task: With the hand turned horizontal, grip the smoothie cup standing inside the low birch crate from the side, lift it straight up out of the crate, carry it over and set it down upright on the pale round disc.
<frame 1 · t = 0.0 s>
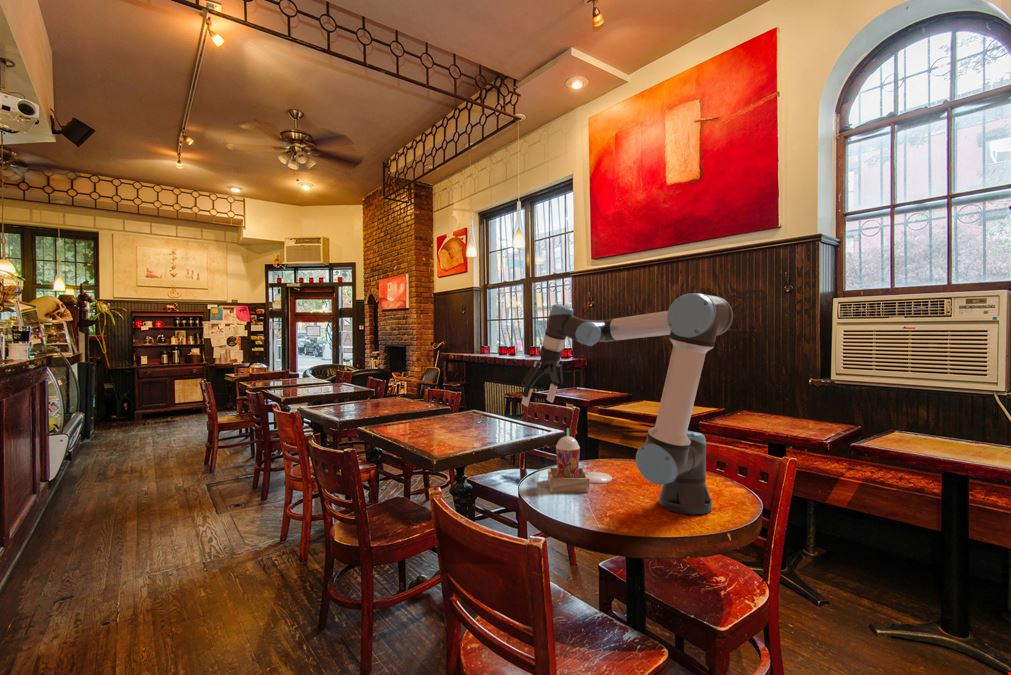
hand: (537, 403, 168), 28 cm above the table, tool tilted 20°, fingers open, 13 cm apart
crate: (567, 485, 161), on the table
smoothie: (567, 486, 161), resting in crate
pale round disc: (595, 478, 170), on the table
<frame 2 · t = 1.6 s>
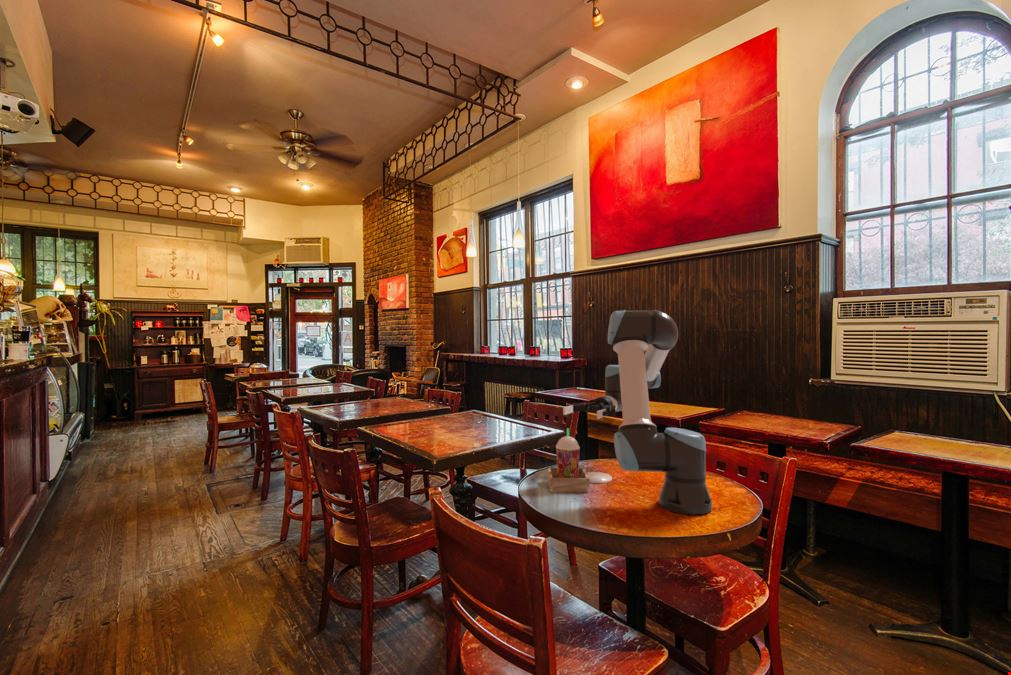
hand: (580, 413, 168), 24 cm above the table, tool horizontal, fingers open, 13 cm apart
nothing on the table moved.
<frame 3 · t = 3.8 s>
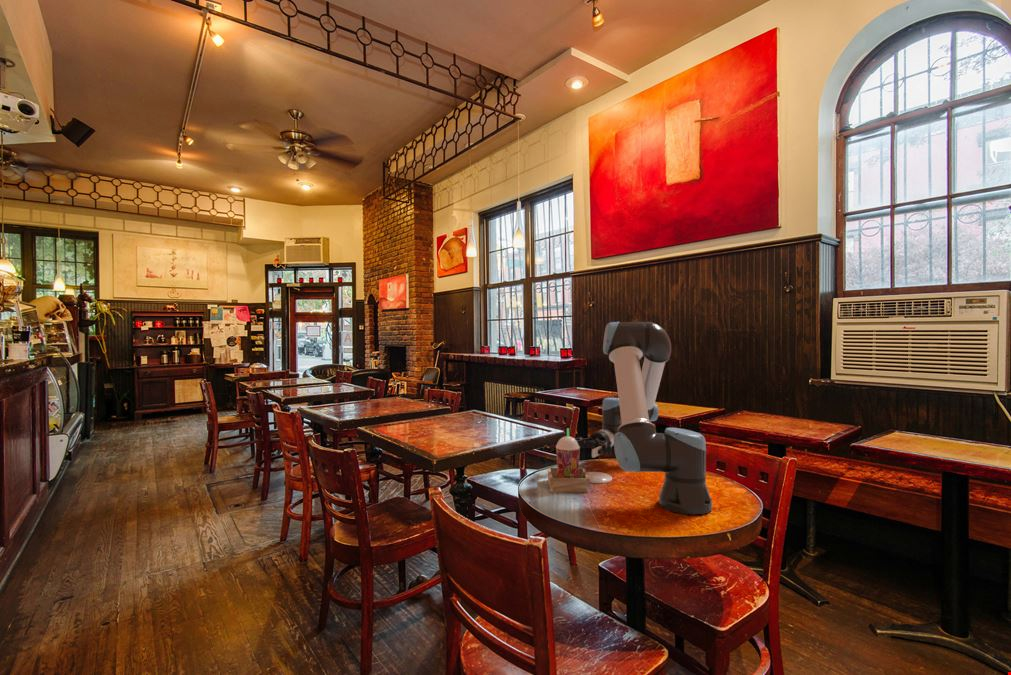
hand: (575, 450, 166), 11 cm above the table, tool horizontal, fingers open, 13 cm apart
nothing on the table moved.
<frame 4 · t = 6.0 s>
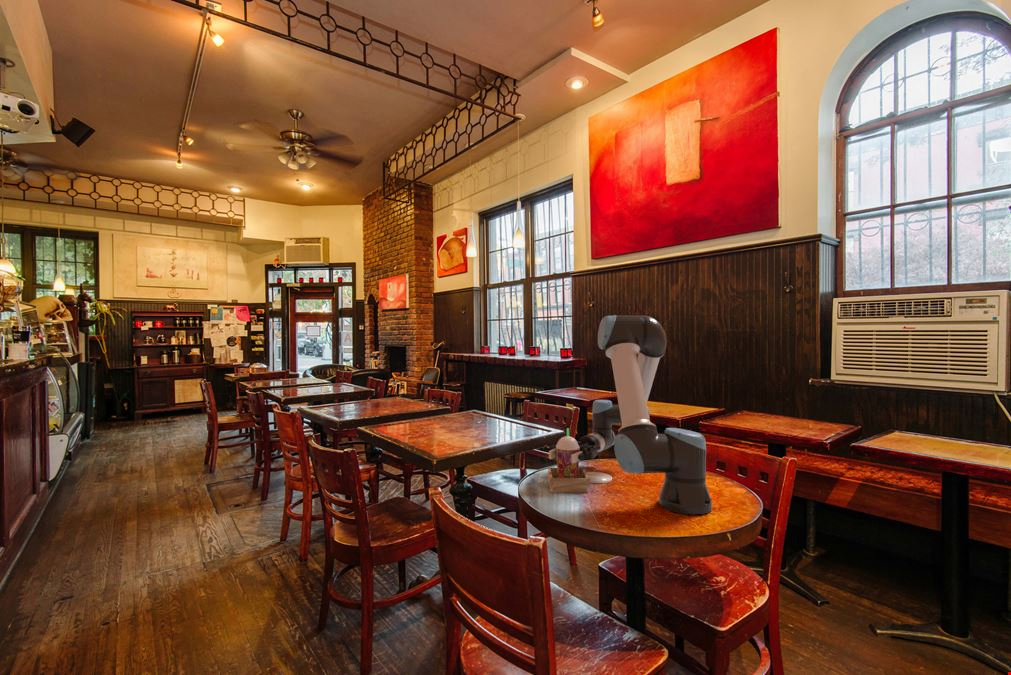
hand: (560, 457, 157), 11 cm above the table, tool horizontal, fingers closed on smoothie, 8 cm apart
smoothie: (567, 486, 161), resting in crate, touching gripper
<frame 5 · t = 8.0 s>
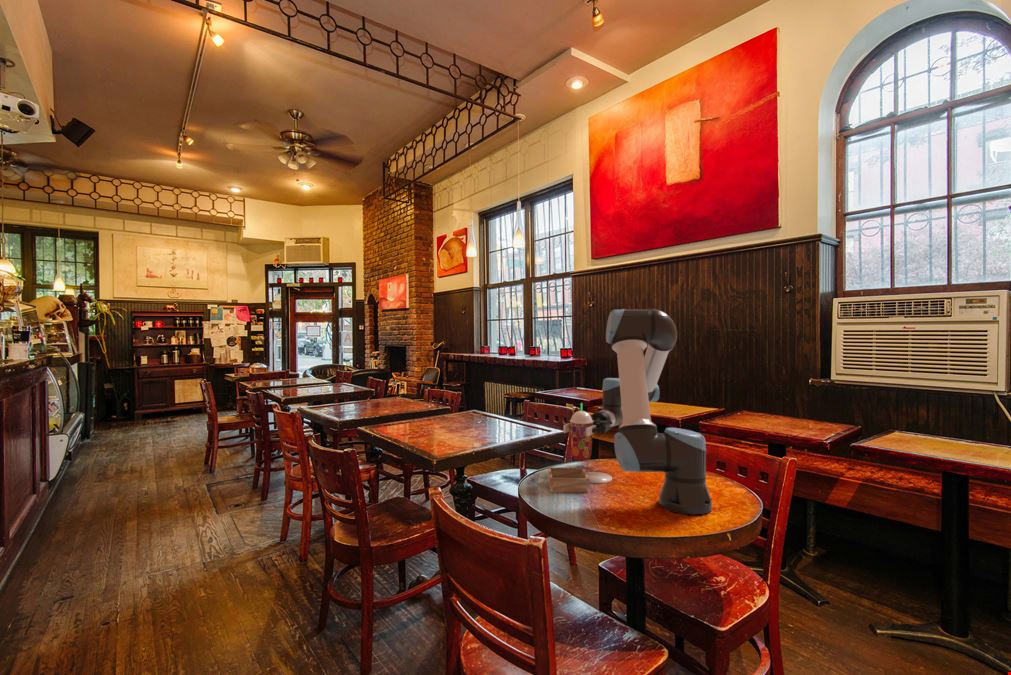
hand: (575, 430, 162), 19 cm above the table, tool horizontal, fingers closed on smoothie, 8 cm apart
smoothie: (581, 459, 165), point 8 cm above the table, touching gripper
when the fingers open (13 cm above the table, at t = 10.0 s): smoothie drops 1 cm, resting on pale round disc.
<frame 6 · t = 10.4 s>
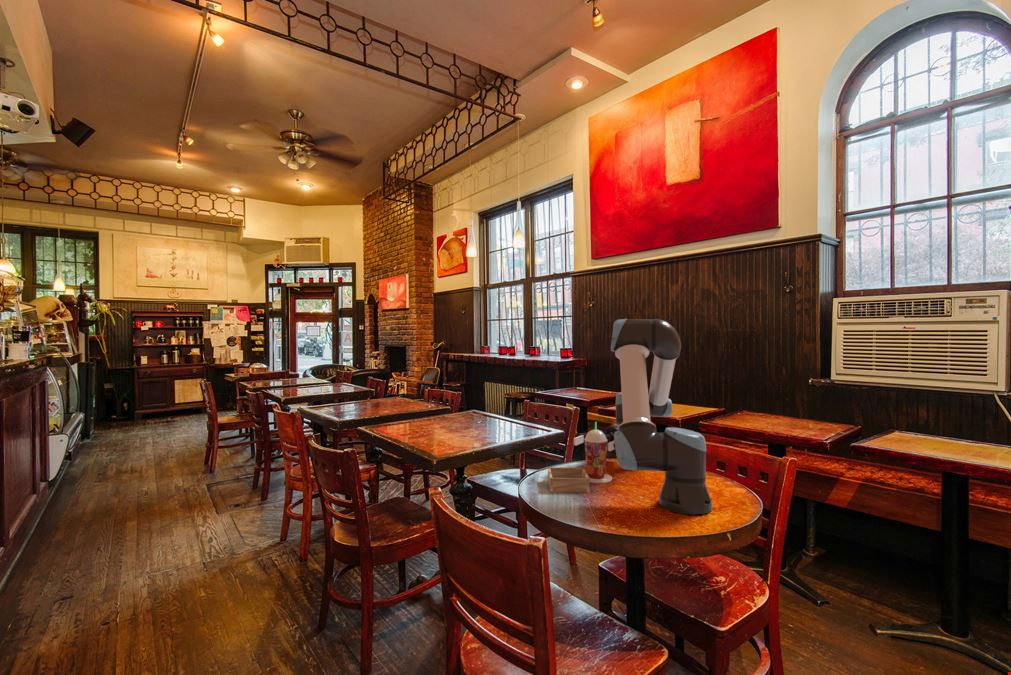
hand: (591, 444, 167), 13 cm above the table, tool horizontal, fingers open, 13 cm apart
smoothie: (596, 477, 170), resting on pale round disc
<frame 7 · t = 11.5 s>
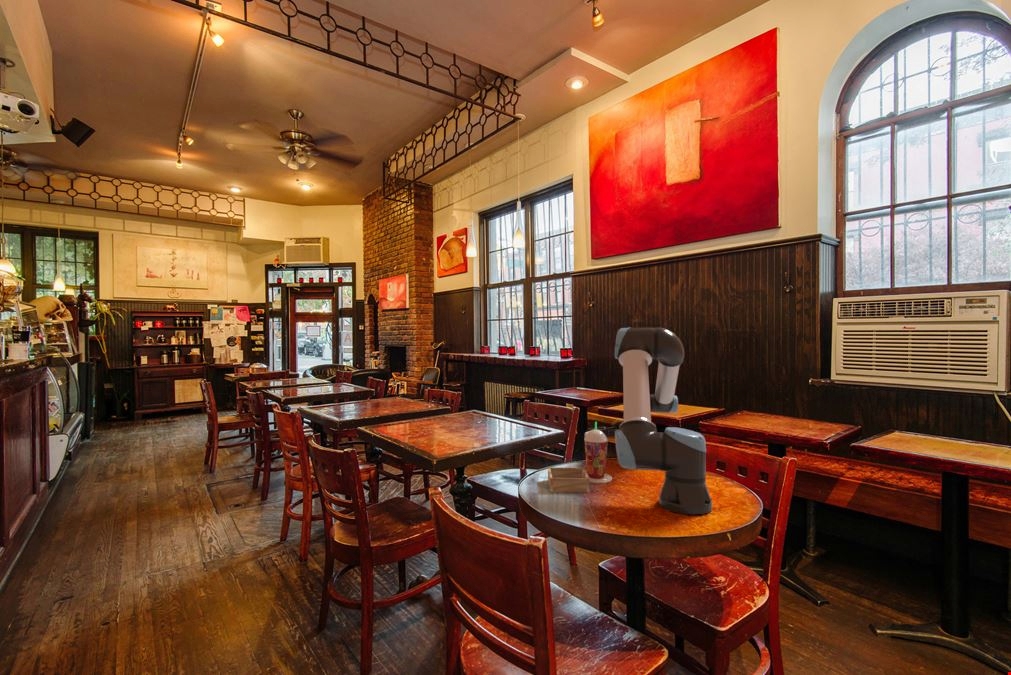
hand: (601, 438, 175), 13 cm above the table, tool horizontal, fingers open, 13 cm apart
nothing on the table moved.
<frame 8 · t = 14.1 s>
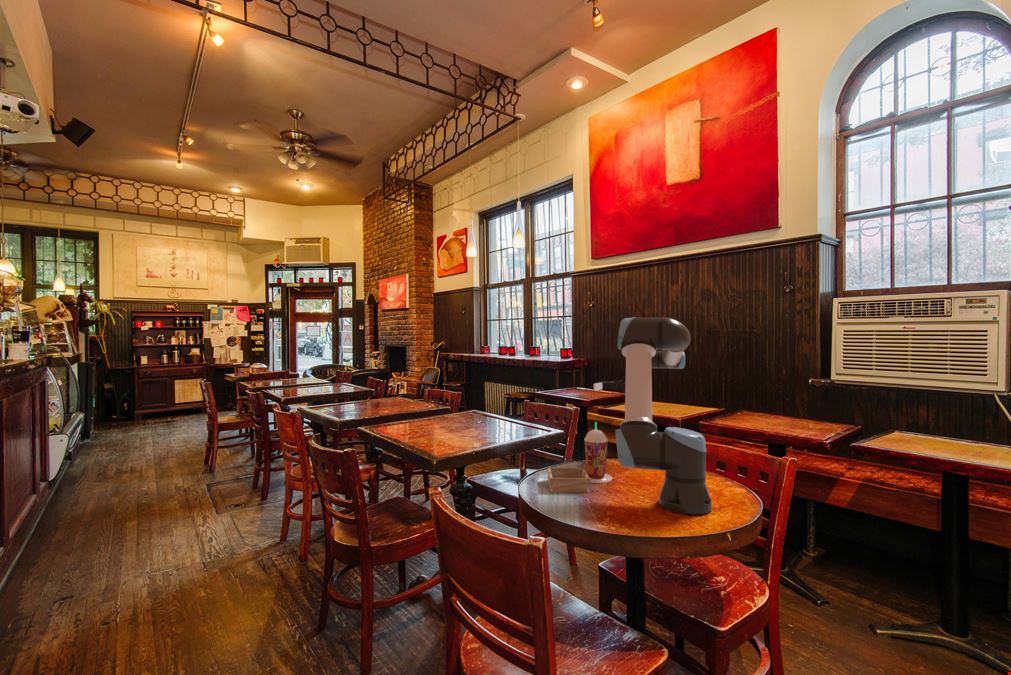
hand: (610, 388, 178), 32 cm above the table, tool horizontal, fingers open, 13 cm apart
nothing on the table moved.
at the end: smoothie 0.3 cm from the pale round disc (horizontally); smoothie tilted 0°; the gripper is holding nothing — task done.
